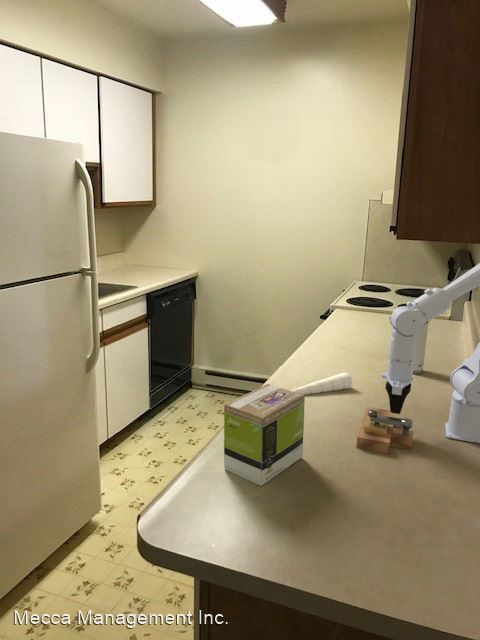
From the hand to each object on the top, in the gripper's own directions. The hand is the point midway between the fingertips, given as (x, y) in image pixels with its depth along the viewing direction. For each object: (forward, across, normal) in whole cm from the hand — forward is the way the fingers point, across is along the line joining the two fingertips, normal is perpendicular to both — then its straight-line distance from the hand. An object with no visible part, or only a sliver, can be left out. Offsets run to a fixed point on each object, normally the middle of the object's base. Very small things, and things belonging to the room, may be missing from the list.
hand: (395, 412), depth 120 cm
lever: (0, +6, -1) cm, 6 cm away
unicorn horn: (+5, -17, -22) cm, 28 cm away
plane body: (+5, +3, -1) cm, 6 cm away
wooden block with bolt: (+2, +6, -4) cm, 7 cm away
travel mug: (+5, -48, +3) cm, 48 cm away
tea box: (+5, +27, -24) cm, 37 cm away
